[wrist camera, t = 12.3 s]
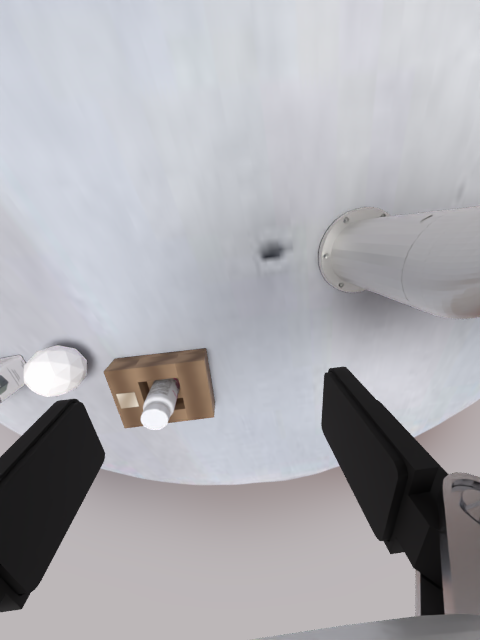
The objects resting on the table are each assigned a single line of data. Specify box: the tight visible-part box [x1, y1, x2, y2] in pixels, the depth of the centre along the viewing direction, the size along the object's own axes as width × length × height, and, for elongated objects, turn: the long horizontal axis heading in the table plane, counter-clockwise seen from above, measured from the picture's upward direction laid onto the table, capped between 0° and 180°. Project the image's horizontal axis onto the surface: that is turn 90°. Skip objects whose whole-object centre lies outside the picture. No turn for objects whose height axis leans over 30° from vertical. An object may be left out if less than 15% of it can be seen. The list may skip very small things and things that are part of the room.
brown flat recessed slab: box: [104, 348, 215, 428], centre depth 39 cm, size 16×12×4 cm
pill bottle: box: [141, 378, 180, 430], centre depth 36 cm, size 5×5×8 cm
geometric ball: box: [24, 345, 87, 397], centre depth 35 cm, size 8×8×8 cm
